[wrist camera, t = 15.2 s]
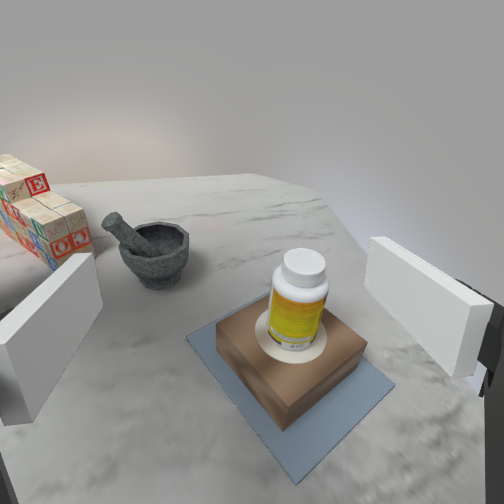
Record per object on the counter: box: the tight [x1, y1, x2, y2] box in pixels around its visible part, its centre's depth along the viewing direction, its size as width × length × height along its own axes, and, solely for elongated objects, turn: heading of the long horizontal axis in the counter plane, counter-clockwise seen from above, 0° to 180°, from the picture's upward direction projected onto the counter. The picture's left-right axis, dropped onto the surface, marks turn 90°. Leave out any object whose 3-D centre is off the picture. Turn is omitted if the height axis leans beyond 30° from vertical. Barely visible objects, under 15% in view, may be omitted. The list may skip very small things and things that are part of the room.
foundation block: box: [216, 294, 368, 432], centre depth 37 cm, size 12×12×5 cm
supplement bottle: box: [266, 248, 329, 350], centre depth 33 cm, size 6×6×10 cm
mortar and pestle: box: [101, 212, 189, 290], centre depth 46 cm, size 11×9×12 cm
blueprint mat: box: [186, 291, 395, 485], centre depth 39 cm, size 20×16×1 cm
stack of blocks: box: [0, 154, 96, 271], centre depth 52 cm, size 21×6×12 cm, turn 54°
